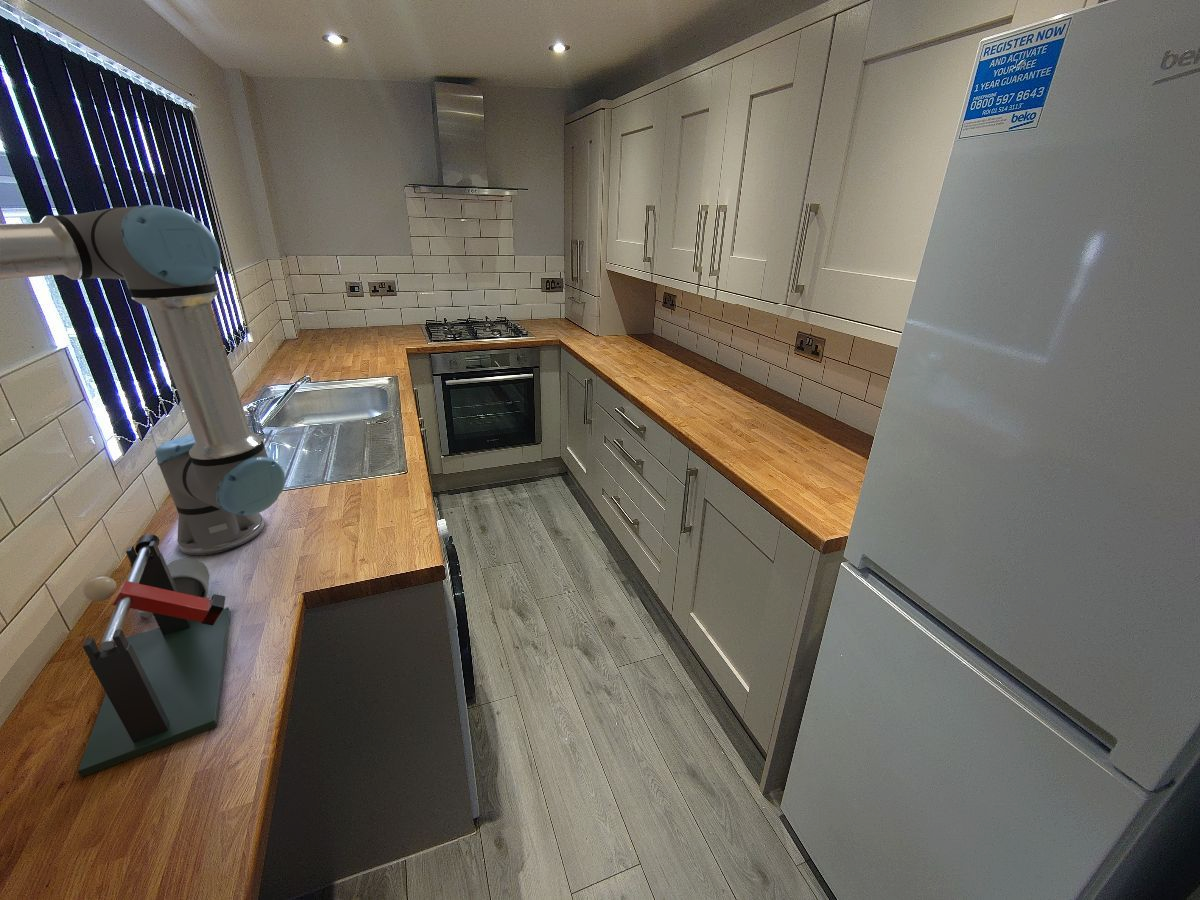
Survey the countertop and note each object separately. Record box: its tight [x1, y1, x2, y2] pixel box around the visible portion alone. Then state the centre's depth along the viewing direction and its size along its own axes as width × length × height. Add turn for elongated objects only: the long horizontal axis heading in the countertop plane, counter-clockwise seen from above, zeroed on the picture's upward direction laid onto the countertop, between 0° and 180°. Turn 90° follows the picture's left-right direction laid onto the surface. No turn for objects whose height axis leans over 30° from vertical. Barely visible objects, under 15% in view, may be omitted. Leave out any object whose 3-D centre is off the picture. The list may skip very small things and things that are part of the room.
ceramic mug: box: [137, 557, 210, 619], centre depth 92 cm, size 11×8×8 cm
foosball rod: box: [82, 533, 226, 651], centre depth 75 cm, size 26×4×16 cm
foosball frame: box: [77, 541, 231, 778], centre depth 74 cm, size 26×14×17 cm, turn 30°
